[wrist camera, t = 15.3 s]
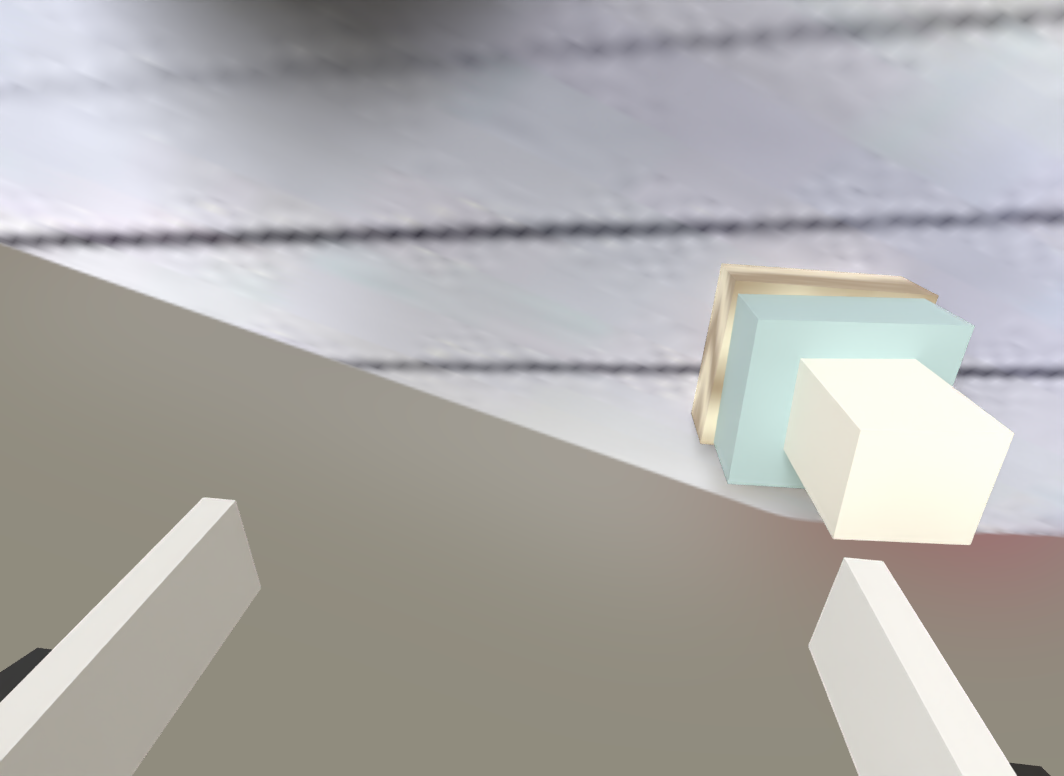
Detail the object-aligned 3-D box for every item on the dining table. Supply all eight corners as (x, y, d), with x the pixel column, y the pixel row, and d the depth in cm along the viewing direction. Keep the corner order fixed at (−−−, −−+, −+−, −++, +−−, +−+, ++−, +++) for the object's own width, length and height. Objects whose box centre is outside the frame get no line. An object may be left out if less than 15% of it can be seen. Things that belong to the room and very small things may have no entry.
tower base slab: (720, 262, 38) (735, 280, 34) (898, 274, 37) (938, 295, 33) (690, 410, 44) (700, 443, 39) (845, 425, 43) (873, 460, 38)
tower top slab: (737, 293, 34) (758, 319, 30) (924, 298, 33) (974, 325, 29) (713, 442, 39) (727, 483, 35) (875, 451, 38) (911, 495, 33)
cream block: (800, 358, 30) (860, 430, 23) (915, 358, 30) (1014, 433, 23) (783, 449, 33) (833, 538, 26) (889, 451, 32) (970, 545, 25)
